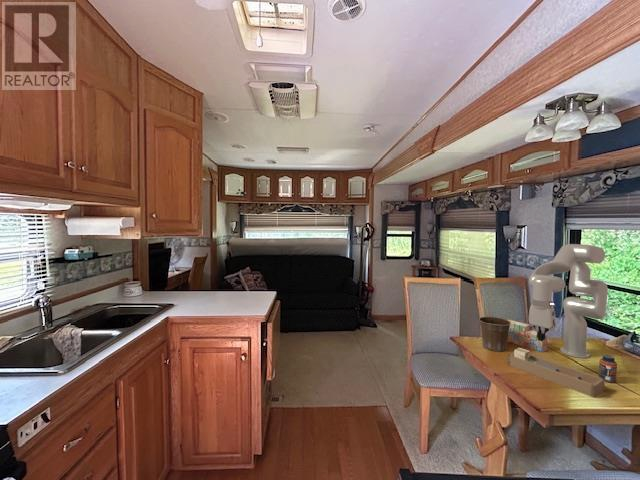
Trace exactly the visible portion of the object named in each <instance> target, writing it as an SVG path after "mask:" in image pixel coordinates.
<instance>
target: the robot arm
mask: <svg viewBox="0 0 640 480" xmlns="http://www.w3.org/2000/svg"><path fill="white" fill-rule="evenodd" d="M605 258H606V251H605V250H604V249H603V248H602V247H600V246H596V245H591V244H577V243H567V244H564V245H562V246H561V247H560V249H559V250H558V252H557V253H556V254H555V256H554V258H553V259H552V260H551V261H548V262H545V263H543V264H540V265H539V266H537V267H536V268H535V269H534V270H533V272H532V273H531V275H530V277H529V280H528V283H529V284H528V285H529V286H530V287H531V288H532V303H531V304H530V306H529V310H528V311H529V312H528V324H529V325H530V327H532V328H534V331H536V332H537V338H538V340H540V341H543V340H545V336H546V334H547V332H555V330H556V329H555V327H557V326H556V323H557V320H556V312H555V308H554V307H555V306H556V303H554V302H553V299H552V295H553V293H559V292H562V291H563V290H564V289H565V287H566V282H565V280H564V278H562V277H558V276H553V275H557V274H564V273H567V272H568V273H569V271H570V274H569V282H568V291H569V292H570V293H571V294H573V295H577V296H582V297H577V296H568V297H566V298H564V299H563V303H562V307H563V313H564V326H563V327H564V328H563V329H564V332H563V346H562V347H560V349H559V351H560V352H561V353H562V354H564V355H567V356H569V357H574V358H578V359H579V358H580V359H588V358H590V357H591V356H590V355H591V354H590V353H589V352H588V351H587V338H588V337H587V334H588V323H587V321H586V319H585V318H590V319H593V320H594V319H595V320H601V319H603V318H604V317H605V315H606V313H607V302H608V293H609V292H608V290H609V289H608V285H607V283H606V282H604V281H602V280H598V279H592V278H591V273H592V270H591V267H590V266H589V265H588V264H587V263H590V264H601V263H603V262H604V261H605V260H606V259H605ZM583 297H588V298H592V299H588V298H583ZM584 317H585V318H584Z"/></svg>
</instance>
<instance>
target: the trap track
mask: <svg viewBox="0 0 640 480" xmlns="http://www.w3.org/2000/svg"><path fill="white" fill-rule="evenodd" d="M507 365H508V366H510V367H512V368H515V369H518V370H521V371H523V372H526V373H529V374H531V375H534V376H536V377H539V378H542V379H545V380H547V381H550V382H552V383H555V384H557V385H560V386H563V387H565V388H567V389H571V390H573V391H576V392H578V393H580V394H584V395H585V396H589V397H591V398H596V397H597V396H599V395H600V394H601V393H602V392H604V391H605V384H606V383H605V382H606V381H605V379H603V378H600V377H599V376H597V375H594V374H591V373H588V372H585V371H581V370H579V369H576V368H572V367H570V366H567V365H565V364H564V365H563V364H561V363H557V362H555V361H552V360H549V359H546V358H543V357H541V356H536V355H534V354H531V353H530V361H526V360H524V359H521V358H518V357H515V356H514V352H512V353H510V354H508V355H507Z"/></svg>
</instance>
